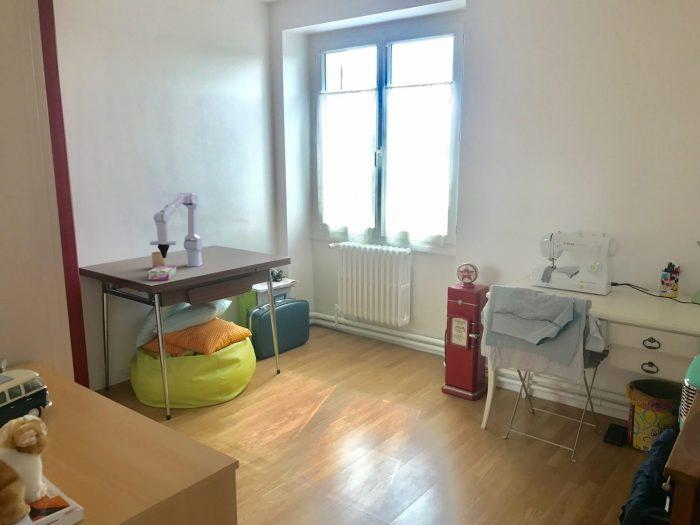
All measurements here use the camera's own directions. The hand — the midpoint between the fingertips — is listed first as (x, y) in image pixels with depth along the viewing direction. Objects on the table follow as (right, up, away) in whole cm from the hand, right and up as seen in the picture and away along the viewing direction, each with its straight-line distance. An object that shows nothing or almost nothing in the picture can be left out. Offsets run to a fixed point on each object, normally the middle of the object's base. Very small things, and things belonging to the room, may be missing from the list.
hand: (164, 257), depth 312 cm
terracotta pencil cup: (-10, -6, +20) cm, 23 cm away
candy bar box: (0, -7, +3) cm, 7 cm away
